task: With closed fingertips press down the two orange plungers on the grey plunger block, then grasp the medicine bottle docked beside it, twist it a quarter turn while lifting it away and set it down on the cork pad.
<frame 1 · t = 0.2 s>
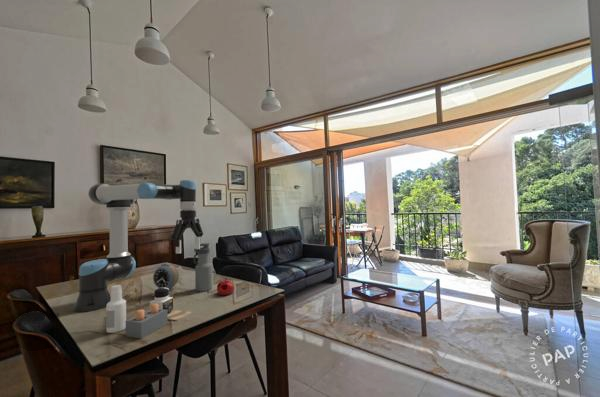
hand: (188, 251, 136), 28 cm above the table, fingers open, 13 cm apart
water bottle: (203, 289, 162), on the table
spray bottle: (116, 329, 109), on the table
grey plunger block: (147, 329, 108), on the table
alarm clock: (166, 293, 155), on the table
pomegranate: (225, 294, 153), on the table
medicine bottle: (161, 314, 124), on the table
plunger b: (154, 311, 112), point 6 cm above the table, slide at 0.0 cm
plunger a: (140, 317, 105), point 6 cm above the table, slide at 0.0 cm
cork pad: (176, 315, 122), on the table
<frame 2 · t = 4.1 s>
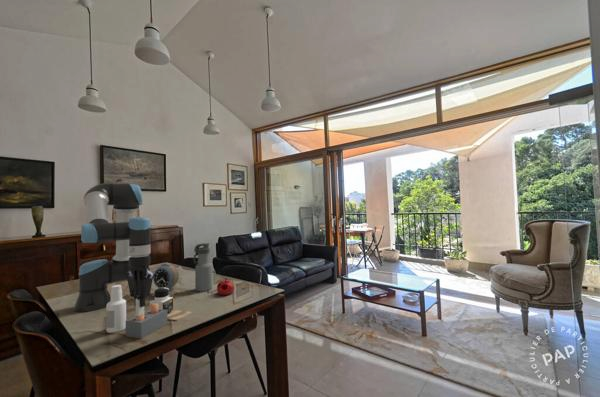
hand: (140, 314, 105), 8 cm above the table, fingers closed
plunger a: (140, 322, 105), point 5 cm above the table, slide at 1.7 cm
everything else where it was.
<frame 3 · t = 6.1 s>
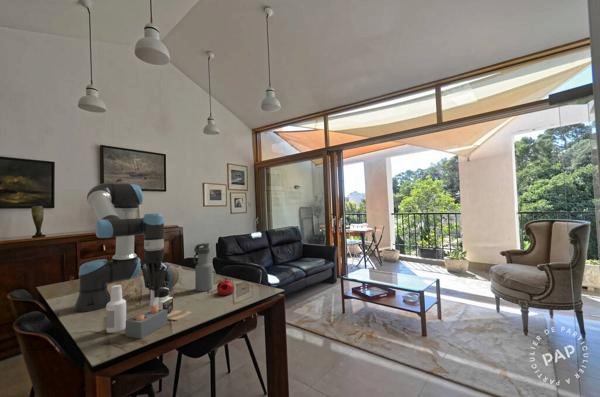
hand: (154, 304, 112), 9 cm above the table, fingers closed
plunger b: (154, 311, 112), point 6 cm above the table, slide at 0.2 cm, touching gripper
plunger a: (140, 322, 105), point 4 cm above the table, slide at 2.0 cm
everything else where it was.
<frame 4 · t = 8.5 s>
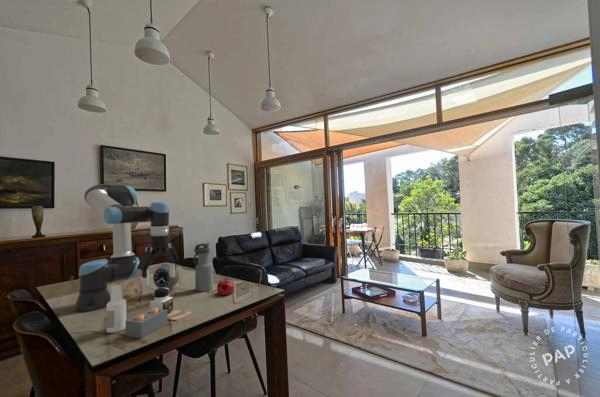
hand: (159, 280, 123), 16 cm above the table, fingers open, 13 cm apart
plunger b: (154, 315, 112), point 4 cm above the table, slide at 2.0 cm
everything else where it was.
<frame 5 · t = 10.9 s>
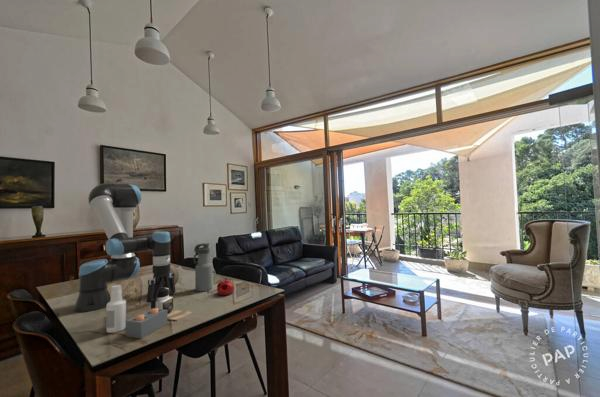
hand: (161, 312, 124), 1 cm above the table, fingers closed on medicine bottle, 7 cm apart
medicine bottle: (161, 314, 124), on the table, touching gripper
everything else where it was.
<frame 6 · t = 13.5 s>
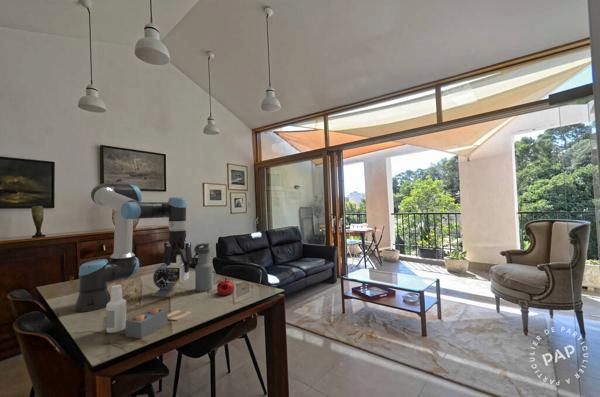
hand: (177, 278, 123), 17 cm above the table, fingers closed on medicine bottle, 7 cm apart
medicine bottle: (177, 280, 123), point 16 cm above the table, touching gripper
everything else where it was.
when the fingers open (3 cm above the table, at t = 16.5 s): medicine bottle drops 1 cm, resting on cork pad.
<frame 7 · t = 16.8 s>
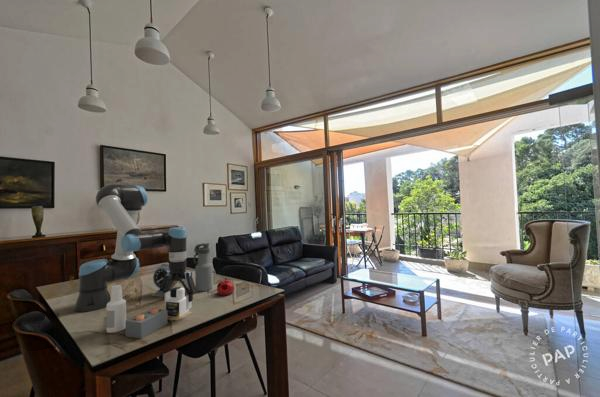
hand: (178, 307, 122), 4 cm above the table, fingers open, 11 cm apart
medicine bottle: (177, 314, 122), resting on cork pad
everything else where it was.
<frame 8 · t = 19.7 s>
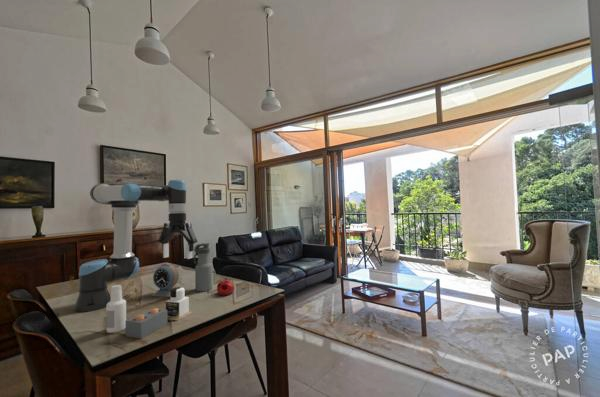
hand: (177, 258, 123), 27 cm above the table, fingers open, 13 cm apart
nothing on the table moved.
at the end: plunger a slide at 2.0 cm; plunger b slide at 2.0 cm; medicine bottle inside the target area on the cork pad (0.6 cm from its centre), point 0.4 cm above the cork pad's base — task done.
